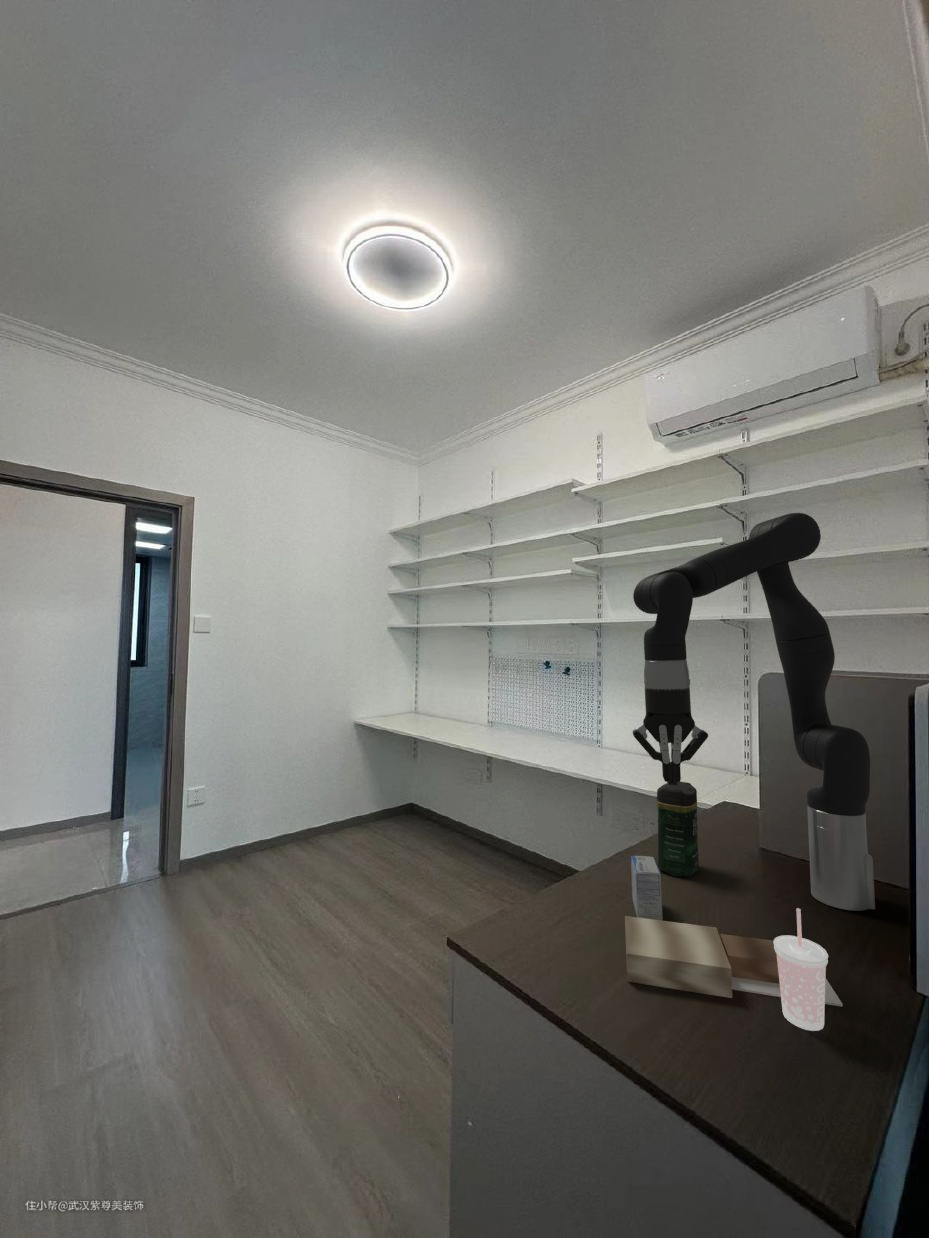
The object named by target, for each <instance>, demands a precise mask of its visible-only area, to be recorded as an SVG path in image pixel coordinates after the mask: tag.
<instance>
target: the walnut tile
mask: <svg viewBox="0 0 929 1238" xmlns="http://www.w3.org/2000/svg"><path fill="white" fill-rule="evenodd" d="M719 936H720V939H721V942H722V944H723V947H724V950H725V953H726V955H727V958H728V961H729V963H730V966H731V972H732V977H736V978H743V979H750V980H757V981H763V982H770V983H777V984H780V982H779V973H778V963H777V954H776V952H775V949H774V944H773V941H774V939H773V940H770V939H764V938H757V937H756V938H755V937H747V936H741V935H733V934H732V935H731V934H724V933H720V934H719Z"/></svg>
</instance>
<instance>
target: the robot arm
mask: <svg viewBox="0 0 929 1238" xmlns="http://www.w3.org/2000/svg"><path fill="white" fill-rule="evenodd" d="M748 536H749V537H748V539H746V540H742V541H740V542H736V543H733V544H730V545H726V546H724V547H720V548H717V549H715V550H712V551H710V552H707V553H705V554H702V555H700V556H698V557H695V558H693V559H690V560H688V561H687V562H685V563H683V564H681V565H678V566H675V567H672V568H668V569H666V570H662V571H660V572H657V573H653V574H651V575H648V576H646V577H644V578H642V579H641V580H639V582H638V583H637V584H636V586H635V587H634V590H633V595H632V596H633V602H634V604H635V606H636V608H638V609H639V610H640V611H641V612H643V613H645V614H650V615H656V617H655V618H656V620H655V622H654V625H653V626H652V627H650V628H647V629H646V631H645V632H644V634H643V635H644V636H643V647H644V648H643V654H644V668H643V680H644V681H643V683H644V684H643V685H644V700H645V701H644V706H645V716H644V718H643V722H642V723H643V724H642V725H641V726H640V727H638V728H637V729H633V730H632V735H633V737H634V738H635V740H636V741H637V742H638V744H639V745H640V746H641V747H642V748H643V749H644V750H645V751H646V753H647V754H649V756H650V757H651V758H652V760H654V761H659V762H660V763H661V769H662V778H663V780H664V783H665V782H666V783H667V784H668V785H677V782H681V780H682V776H681V764H682V763H683V762H686V761H691V759H692V758H693V756H695V754H696V753H697V752H698V751H699V749H700V748H701V746H702V745H703V744H705V742H706V740H707V739H708V738H709V734H708V732H706V731H705V730H704V729H701V728H700V727H698V726H697V725H696V722H695V720H694V719H693V715H692V701H691V686H690V685H691V679H690V671H689V667H688V659H687V657H688V656H687V645H686V644H687V642H686V636H687V630H688V627H689V622H690V618H691V613H692V608H693V600H694V599H696V598H697V599H698V598H701V597H705V596H706V595H709V594H710V595H711V593H713V592H716V591H718V590H721V589H723V588H724V587H727V586H728V585H731V584H733V583H735V582H737V581H739V580H741V579H743V578H746V577H747V576H748V577H749V576H750V575H752V574H754V573H757V576H758V578H759V581H760V584H761V587H762V591H763V594H764V597H765V600H766V604H767V605H766V606H767V608H768V612H769V616H770V619H771V623H772V629H773V633H774V639H775V640H774V641H775V643H776V648H777V652H778V656H779V659H780V663H781V668H782V671H783V675H784V680H785V681H784V682H785V686H786V691H787V695H788V701H789V706H790V716H791V724H792V732H793V740H794V746H795V750H796V753H797V754H798V757H799V759H801V761H802V762H803V763H804V764H806V765H807V766H809V767H810V768H814V769H816V770H820V771H823V780H822V786H820V787H813V788H809V790H808V791H807V793H806V803H807V805H806V808H807V826H808V827H807V829H808V831H807V832H808V849H809V873H810V874H809V875H810V877H809V878H810V882H809V883H810V894H811V896H812V897H813V898H814V899H815V900H817V902H818V901H819V902H821V903H822V904H825V905H826V906H829V907H830V906H831V907H833V908H836V909H840V910H846V911H854V912H855V911H856V912H859V911H860V912H861V911H866V910H876V901H875V900H876V899H875V882H874V881H875V879H874V862H873V861H874V860H873V856H872V855H871V854H869V853H868V838H867V837H868V836H867V819H866V818H867V815H866V805H867V803H868V801H869V797H870V791H871V753H870V748H869V745H868V742H867V739H866V738H865V736H864V735H863V734H861V732H860V731H858V730H855V729H853V728H850V727H846V726H840V725H835V724H832V722H831V719H830V716H829V713H828V708H827V707H828V706H827V704H826V690H827V687H828V683H829V681H830V678H831V676H832V674H833V673H832V672H833V669H834V666H835V658H836V655H835V649H834V644H833V640H832V637H831V632H830V629H829V625H828V623H827V621H826V619H825V618H824V616H823V615H822V614H821V613H820V612H819V611H818V609H817V608H816V607H815V606H814V605H813V604H812V602H810V601H809V600H808V598H807V597H805V596H804V594H803V593H802V592H801V591H800V589H799V588H798V587H797V585H796V583H795V581H794V577H793V575H792V572H791V568H790V563H792V562H795V561H799V560H803V559H805V558H807V557H810V555H812V554H813V553H815V551H816V550H817V549H818V547H819V545H820V543H821V537H822V534H821V530H820V526H819V525H818V522H817V521H816V520H815V519H814V518H813V517H812V516H811V515H809V514H806V513H803V512H792V513H787V514H784V515H780V516H778V517H774V518H771V519H767V520H764V521H761V522H759V523H757V524H755V525H754V526H753V527H752V529H751V530H750V532H749V535H748ZM647 732H648V733H649V734H650V735H651V736H652V738H653V739H654V740H655V741H656V742H657V743H658V746H659V751H657V750H656V749H655V747H653V745H652V744H651V743H650V741H648V733H647ZM690 734H691V735H690ZM688 736H691V738H692V739H691V740H690V741H689V743H688V744H687V745H686V746H685V748H684V749H683V751H682V743H683V742H685V741H686V739H687V737H688ZM669 744H670V747H669Z"/></svg>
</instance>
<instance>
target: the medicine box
mask: <svg viewBox="0 0 929 1238" xmlns="http://www.w3.org/2000/svg"><path fill="white" fill-rule="evenodd" d="M630 870H631V872H630V874H631V895H632V896H631V897H632V903H633V907H634V910H635V914H636V915H635V916H636V917H637V918H645V919H653V920H661V921H664V920H663V919H664V916H663V901H662V900H663V897H662V896H663V895H662V877H661V876H662V875H661V872H660V869H659V867H658V863H657V862H656V859H655V857H653V856H649V855H645V856H644V855H632V856H631V855H630Z"/></svg>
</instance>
